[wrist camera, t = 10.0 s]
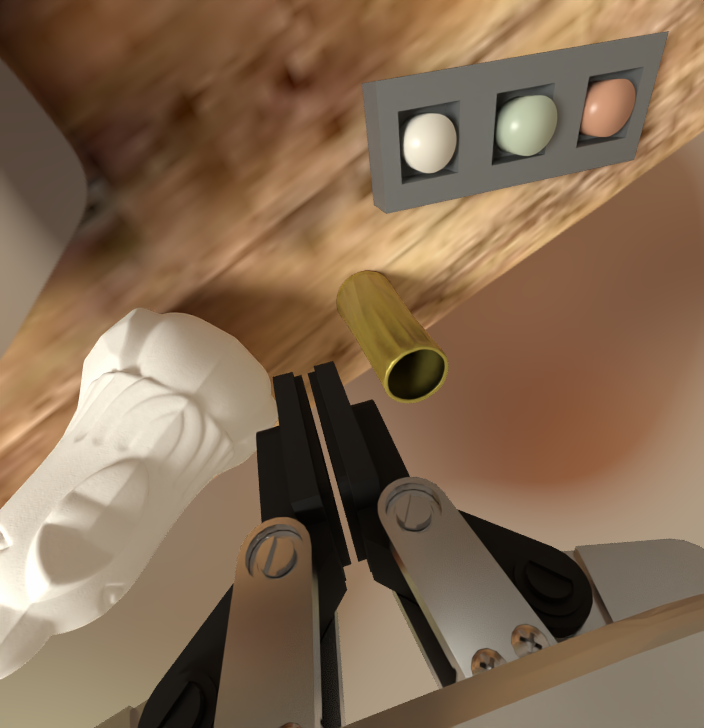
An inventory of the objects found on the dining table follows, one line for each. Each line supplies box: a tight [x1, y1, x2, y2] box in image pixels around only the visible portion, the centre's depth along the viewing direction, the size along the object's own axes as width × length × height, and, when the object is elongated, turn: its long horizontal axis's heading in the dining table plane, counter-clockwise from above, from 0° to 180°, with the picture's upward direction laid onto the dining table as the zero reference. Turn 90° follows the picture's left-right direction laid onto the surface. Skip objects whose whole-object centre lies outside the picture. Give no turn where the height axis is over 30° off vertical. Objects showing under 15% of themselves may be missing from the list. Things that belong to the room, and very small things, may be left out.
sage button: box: [493, 95, 557, 156], centre depth 31 cm, size 4×4×3 cm
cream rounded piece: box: [399, 113, 456, 173], centre depth 30 cm, size 4×4×3 cm
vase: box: [336, 271, 449, 403], centre depth 34 cm, size 6×6×14 cm
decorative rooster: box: [0, 308, 278, 679], centre depth 31 cm, size 25×16×25 cm
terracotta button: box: [578, 79, 635, 137], centre depth 32 cm, size 4×4×3 cm
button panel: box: [362, 31, 669, 214], centre depth 32 cm, size 9×24×4 cm, turn 98°
